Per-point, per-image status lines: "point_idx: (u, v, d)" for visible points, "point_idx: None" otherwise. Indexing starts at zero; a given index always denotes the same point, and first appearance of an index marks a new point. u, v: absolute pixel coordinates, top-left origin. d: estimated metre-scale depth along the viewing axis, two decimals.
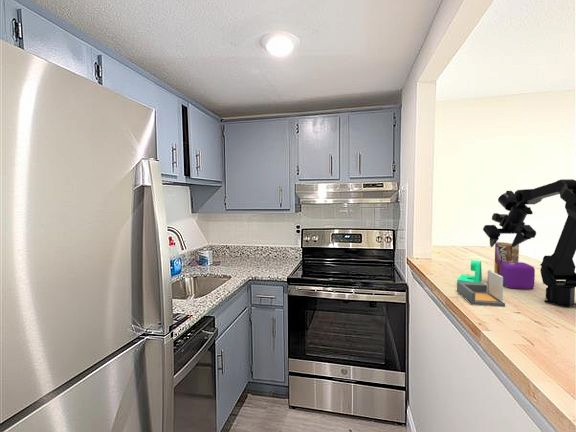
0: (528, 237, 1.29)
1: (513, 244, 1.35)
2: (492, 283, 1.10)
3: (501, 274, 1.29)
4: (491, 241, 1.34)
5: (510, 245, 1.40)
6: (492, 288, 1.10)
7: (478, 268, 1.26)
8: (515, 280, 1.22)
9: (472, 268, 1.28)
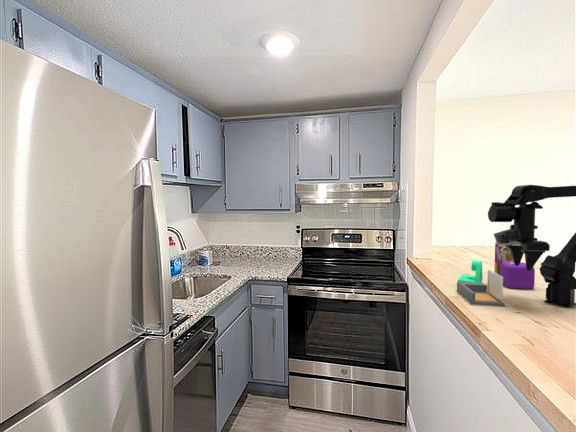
0: None
1: (517, 262, 1.10)
2: (492, 283, 1.10)
3: (501, 274, 1.29)
4: (532, 261, 1.01)
5: None
6: (492, 288, 1.10)
7: (479, 268, 1.26)
8: (515, 280, 1.22)
9: (473, 268, 1.28)
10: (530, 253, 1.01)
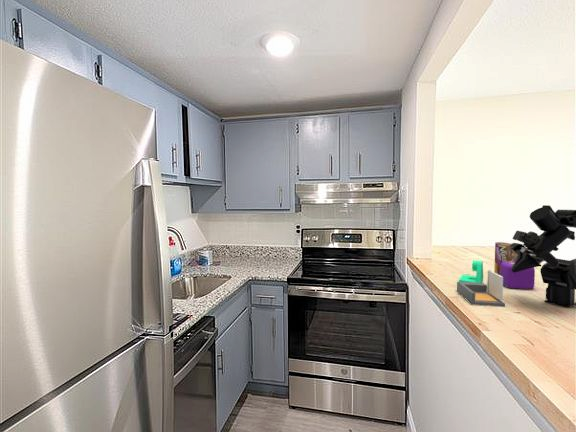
0: None
1: None
2: (492, 283, 1.10)
3: (501, 274, 1.29)
4: (523, 266, 1.05)
5: None
6: (492, 288, 1.10)
7: (480, 268, 1.26)
8: (515, 280, 1.22)
9: (474, 268, 1.28)
10: (527, 260, 1.04)
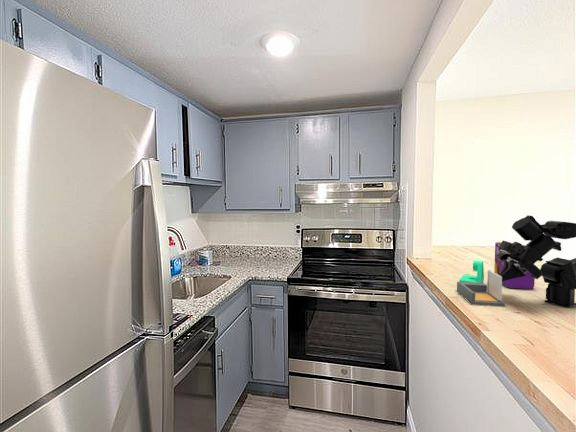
0: None
1: None
2: (492, 283, 1.10)
3: None
4: (508, 276, 1.06)
5: None
6: (492, 288, 1.10)
7: (480, 268, 1.26)
8: (515, 280, 1.22)
9: (474, 268, 1.28)
10: (512, 270, 1.05)
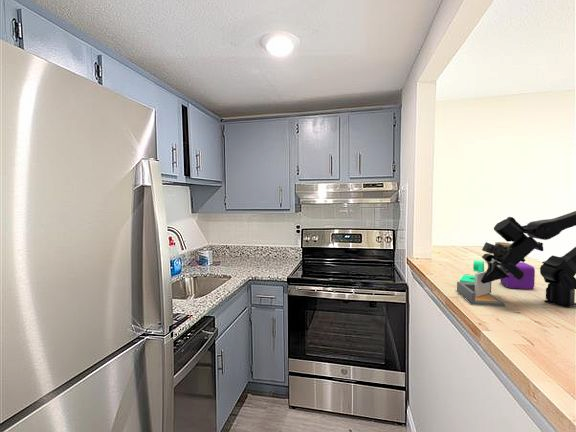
0: None
1: None
2: None
3: None
4: (492, 278, 1.07)
5: None
6: None
7: (481, 268, 1.25)
8: (515, 280, 1.22)
9: (475, 268, 1.27)
10: (496, 271, 1.07)
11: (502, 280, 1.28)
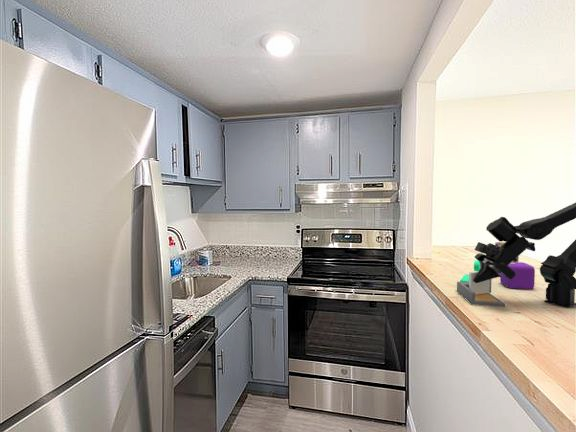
0: None
1: None
2: None
3: (501, 274, 1.29)
4: (484, 277, 1.07)
5: None
6: None
7: None
8: (515, 280, 1.22)
9: (475, 268, 1.27)
10: (488, 271, 1.07)
11: (502, 280, 1.28)
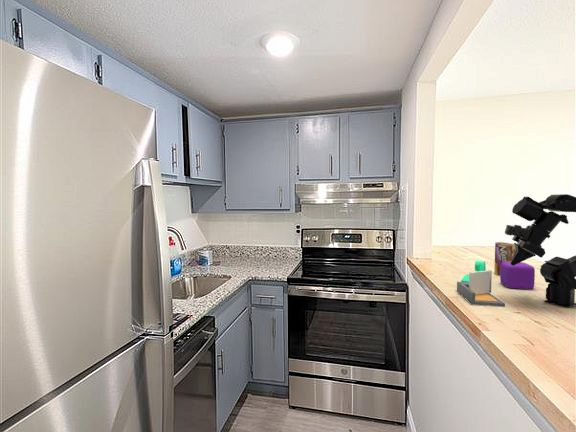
0: None
1: None
2: None
3: (501, 274, 1.29)
4: (519, 258, 1.08)
5: (510, 245, 1.40)
6: None
7: (482, 268, 1.25)
8: (515, 280, 1.22)
9: (476, 268, 1.27)
10: (522, 251, 1.07)
11: (502, 280, 1.28)
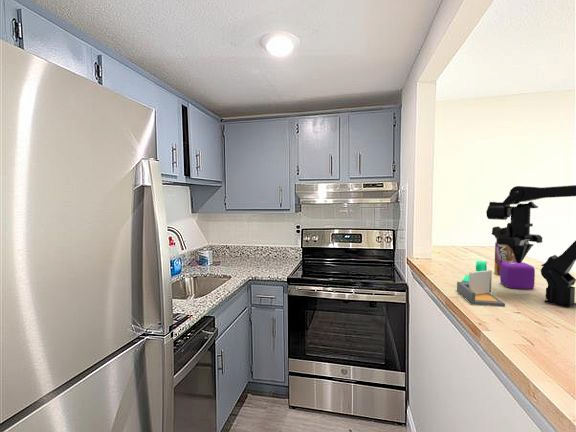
0: (538, 242, 1.14)
1: None
2: None
3: (501, 274, 1.29)
4: (518, 254, 1.13)
5: None
6: None
7: (483, 269, 1.25)
8: (515, 280, 1.22)
9: (477, 269, 1.27)
10: (516, 247, 1.14)
11: (502, 280, 1.28)
